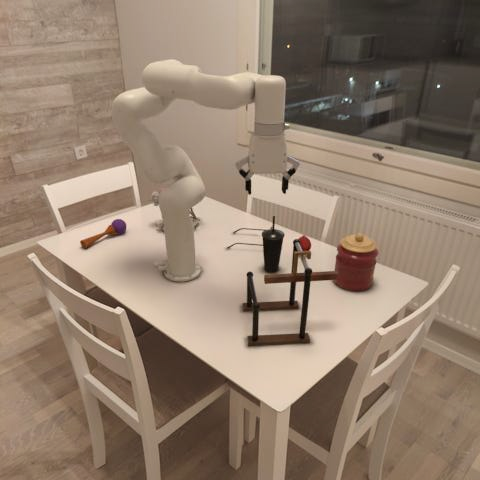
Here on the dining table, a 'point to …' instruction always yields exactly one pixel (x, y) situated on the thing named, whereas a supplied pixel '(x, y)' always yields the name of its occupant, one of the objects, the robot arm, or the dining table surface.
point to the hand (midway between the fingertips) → (266, 192)
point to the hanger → (300, 276)
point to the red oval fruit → (305, 243)
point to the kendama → (106, 232)
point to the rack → (279, 308)
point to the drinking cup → (272, 248)
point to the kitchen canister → (355, 262)
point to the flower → (155, 200)
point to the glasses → (245, 243)
